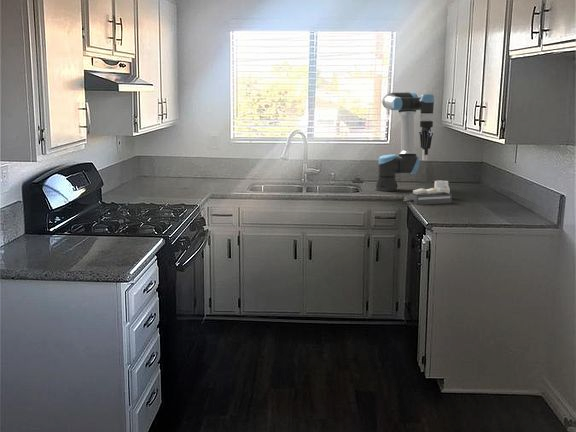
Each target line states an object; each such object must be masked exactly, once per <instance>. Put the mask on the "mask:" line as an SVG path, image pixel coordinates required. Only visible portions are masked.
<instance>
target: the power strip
mask: <svg viewBox="0 0 576 432" xmlns="http://www.w3.org/2000/svg"><path fill="white" fill-rule="evenodd" d="M452 194H453V193H446V192H434V193H430V194H427V193H420V194H414V193H413V192H412V193H409V199H405V200H404V199H403V200H402V202H403V203H411V204H413V205H418V206H419V205H434V204H452V199H453V195H452Z"/></svg>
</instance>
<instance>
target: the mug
mask: <svg viewBox="0 0 576 432" xmlns="http://www.w3.org/2000/svg"><path fill="white" fill-rule="evenodd" d="M433 188H442V189H447V190H449V193H450V192H451V190H450V186H449V181H448V180H441V179H440V180H434V187H433ZM437 192H441V191H437ZM450 194H451V193H450Z"/></svg>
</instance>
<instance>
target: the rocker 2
mask: <svg viewBox="0 0 576 432" xmlns="http://www.w3.org/2000/svg"><path fill="white" fill-rule="evenodd" d="M434 192H437V189H436V188H434V187H431V188H427V189H426V192H424V193H427V194H430V193H434Z"/></svg>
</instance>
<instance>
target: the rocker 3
mask: <svg viewBox="0 0 576 432" xmlns="http://www.w3.org/2000/svg"><path fill="white" fill-rule="evenodd" d="M436 189H437V191H441V192H446V193H449V190H447V189H442V188H436Z"/></svg>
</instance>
